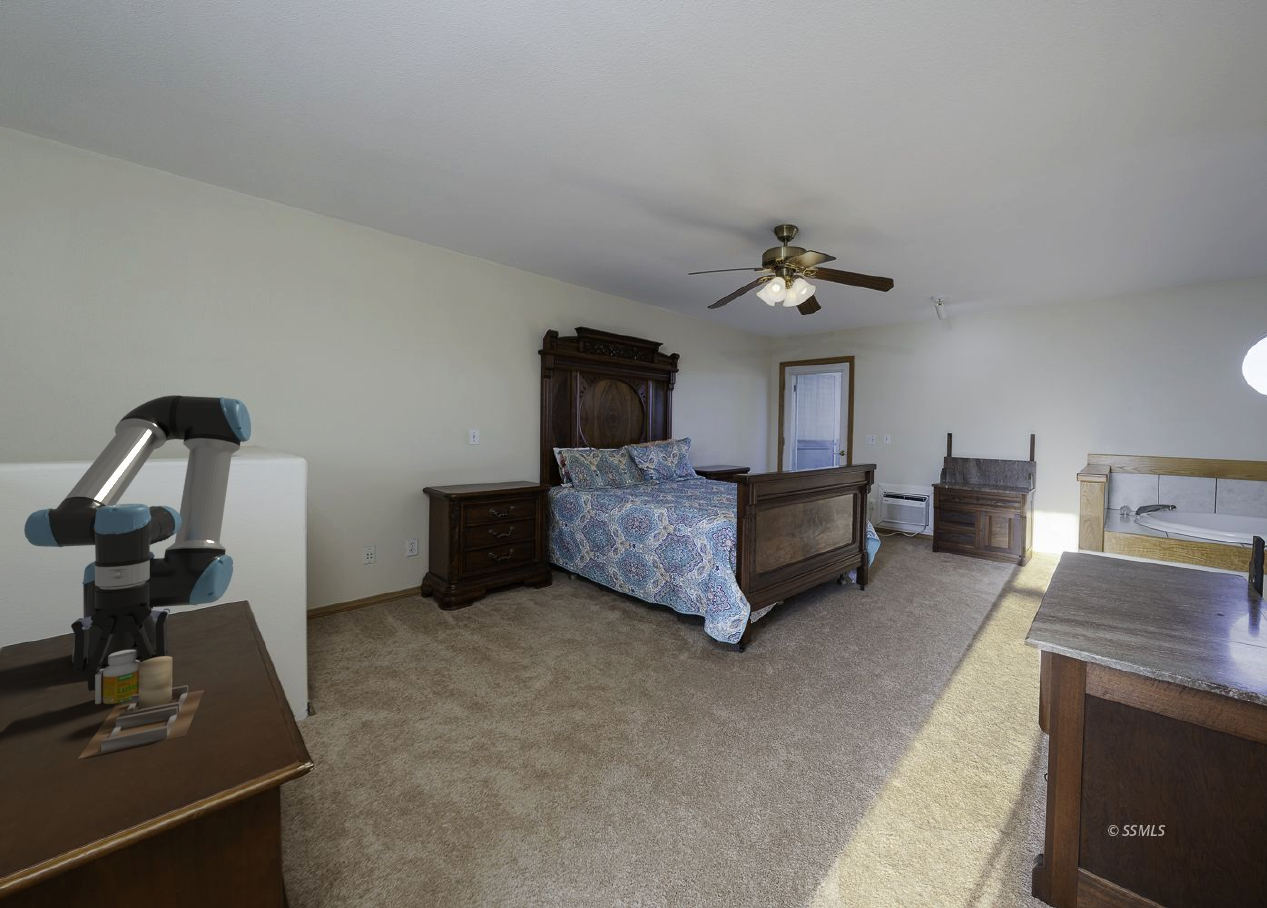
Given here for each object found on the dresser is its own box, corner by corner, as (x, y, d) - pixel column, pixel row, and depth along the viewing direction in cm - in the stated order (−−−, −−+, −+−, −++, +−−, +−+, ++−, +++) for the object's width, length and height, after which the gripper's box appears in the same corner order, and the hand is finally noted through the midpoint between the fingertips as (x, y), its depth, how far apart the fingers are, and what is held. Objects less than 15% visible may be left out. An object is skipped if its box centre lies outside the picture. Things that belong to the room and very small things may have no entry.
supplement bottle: (116, 711, 96) (116, 661, 95) (94, 707, 97) (94, 657, 97) (148, 697, 101) (149, 649, 101) (128, 693, 102) (128, 646, 102)
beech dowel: (142, 705, 96) (142, 659, 96) (174, 700, 98) (174, 654, 98) (135, 717, 92) (135, 669, 92) (168, 711, 94) (169, 663, 94)
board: (115, 712, 96) (115, 696, 95) (204, 695, 103) (204, 681, 102) (77, 766, 80) (77, 747, 80) (185, 742, 87) (185, 725, 87)
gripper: (44, 596, 90) (44, 723, 91) (181, 583, 100) (180, 698, 101) (62, 584, 96) (62, 703, 97) (189, 573, 106) (188, 682, 107)
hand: (122, 700), depth 99 cm, fingers closed on supplement bottle, 5 cm apart
